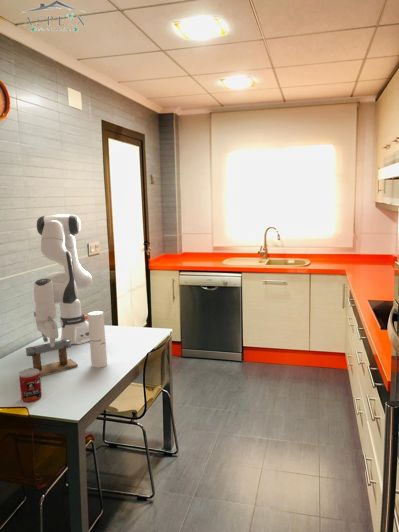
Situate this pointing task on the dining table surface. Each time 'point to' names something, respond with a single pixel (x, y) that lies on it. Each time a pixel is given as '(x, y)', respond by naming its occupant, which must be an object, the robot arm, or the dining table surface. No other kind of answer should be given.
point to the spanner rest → (53, 367)
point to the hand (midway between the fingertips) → (48, 344)
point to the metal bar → (48, 347)
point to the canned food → (30, 385)
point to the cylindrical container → (97, 339)
